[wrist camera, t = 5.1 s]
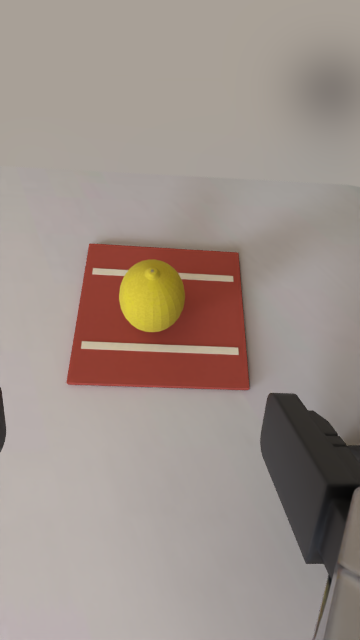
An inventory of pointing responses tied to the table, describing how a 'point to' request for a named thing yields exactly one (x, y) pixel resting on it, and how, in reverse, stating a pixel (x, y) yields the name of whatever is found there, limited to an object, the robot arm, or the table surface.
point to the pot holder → (167, 345)
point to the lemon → (152, 295)
